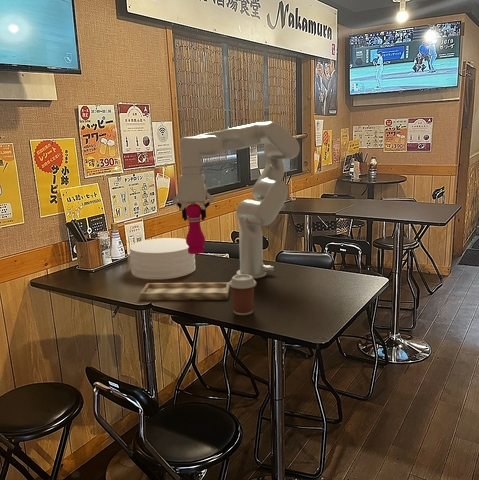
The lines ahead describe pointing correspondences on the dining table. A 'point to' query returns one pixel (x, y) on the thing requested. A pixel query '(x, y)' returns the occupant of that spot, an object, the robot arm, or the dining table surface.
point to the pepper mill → (194, 230)
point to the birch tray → (185, 291)
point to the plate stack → (161, 258)
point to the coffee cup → (242, 293)
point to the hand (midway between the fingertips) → (194, 219)
